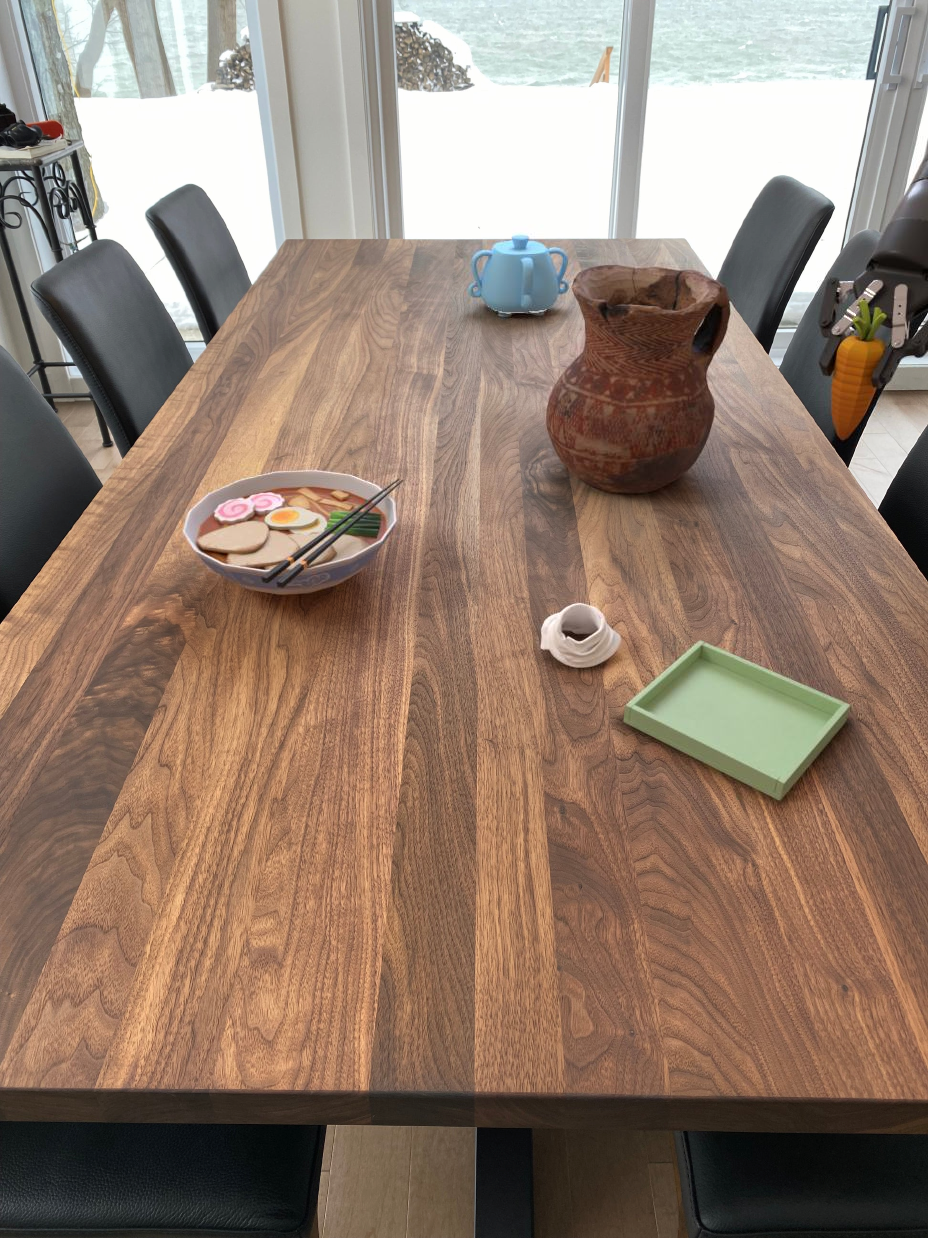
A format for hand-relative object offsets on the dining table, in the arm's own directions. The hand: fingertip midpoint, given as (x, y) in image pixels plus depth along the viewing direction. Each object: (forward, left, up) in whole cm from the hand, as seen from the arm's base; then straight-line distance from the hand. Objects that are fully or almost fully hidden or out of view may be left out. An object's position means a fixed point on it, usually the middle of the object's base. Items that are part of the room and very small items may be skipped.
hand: (850, 377), depth 103 cm
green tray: (-8, +35, -20) cm, 41 cm away
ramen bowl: (+41, +44, -21) cm, 63 cm away
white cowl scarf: (+9, +35, -21) cm, 41 cm away
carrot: (0, -2, -8) cm, 8 cm away
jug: (+28, -2, -21) cm, 34 cm away
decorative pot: (+83, -49, -21) cm, 98 cm away
